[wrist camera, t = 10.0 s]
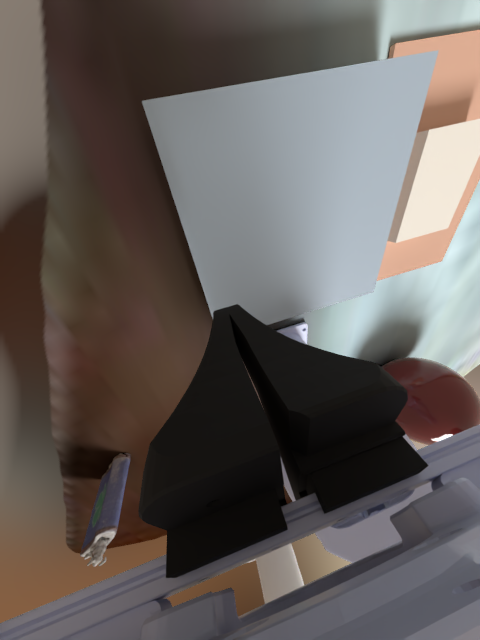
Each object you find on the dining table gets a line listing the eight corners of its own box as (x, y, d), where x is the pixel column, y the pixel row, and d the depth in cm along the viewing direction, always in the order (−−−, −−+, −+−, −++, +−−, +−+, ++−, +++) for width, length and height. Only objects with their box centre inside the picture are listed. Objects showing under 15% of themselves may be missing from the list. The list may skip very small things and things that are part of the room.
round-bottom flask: (383, 390, 43) (505, 511, 27) (340, 390, 38) (458, 540, 22) (429, 344, 36) (623, 466, 21) (384, 338, 32) (595, 492, 16)
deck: (345, 277, 23) (373, 292, 19) (213, 316, 21) (219, 339, 18) (377, 82, 14) (438, 50, 10) (151, 124, 12) (141, 100, 9)
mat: (438, 260, 25) (441, 261, 24) (347, 287, 23) (350, 288, 23) (545, 21, 14) (553, 17, 14) (390, 46, 13) (395, 43, 12)
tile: (395, 243, 19) (378, 238, 20) (447, 228, 19) (427, 225, 21) (429, 129, 14) (403, 135, 16) (497, 114, 15) (465, 122, 16)
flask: (116, 452, 30) (92, 556, 22) (136, 452, 32) (120, 550, 23) (98, 479, 33) (71, 580, 25) (117, 479, 35) (97, 573, 26)
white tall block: (240, 454, 42) (277, 616, 26) (269, 450, 45) (318, 595, 29) (227, 477, 48) (251, 623, 32) (253, 472, 50) (287, 604, 34)
